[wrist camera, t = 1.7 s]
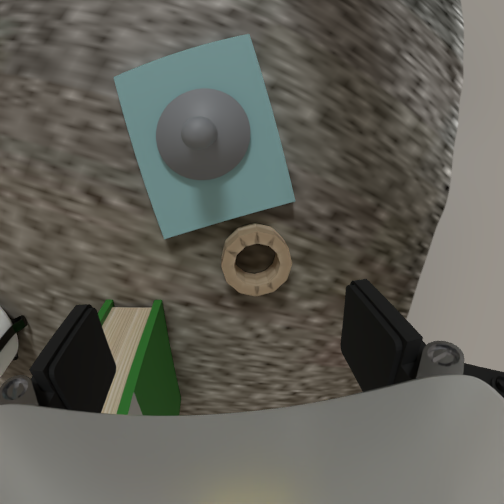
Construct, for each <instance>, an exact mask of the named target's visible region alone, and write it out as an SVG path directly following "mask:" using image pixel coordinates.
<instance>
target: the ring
mask: <svg viewBox="0 0 504 504" xmlns="http://www.w3.org/2000/svg"><path fill="white" fill-rule="evenodd" d="M257 243H258V244H263V245H267V246H270V247H271V248H272V249H273V250H274V251H275V253H276V254H275V258H274V261H273V264H272V265H271V266H270V267H268V268H267V269H266V270H265V271H263V272H259V273H256V274H253V273H248V272H244V271H243V270H241V269H240V268H239V267H238V266H237V265H236V263H235V259H236V256H237V254H238V253H239V252H240V251H241V250H242V249H243V248H244V247H246V246H249V245H253V244H257ZM291 266H292V261H291V257H290V253H289V249H288V246H287V244H286V243H285V241H284V239H283V238H282V237H281V236H280V235H279V234H278V233H277V232H276V231H275V230H274V229H273V228H272V227H270V226H266V225H262V224H257V223H252V224H249V225H245V226H241V227H238V228H237V229H236V230H235V231H234V232H233V233H232V234H231V235H230V236H229V237H228V238H227V239H226V240H225V244H224V248H223V252H222V264H221V267H222V270H223V273H224V275H225V278H226V281H227V283H228V284H229V285H231V286H232V287H233V288H234V289H236V290H237V291H238V292H239V293H242V294H247V295H253V296H260V295H264V294H267V293H271V292H274V291H275V290H276V289H277V288H278V287H280V286H281V285H282V284H283V283H284V282H285V281H286V280H287V278H288V275H289V272H290V269H291Z"/></svg>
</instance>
